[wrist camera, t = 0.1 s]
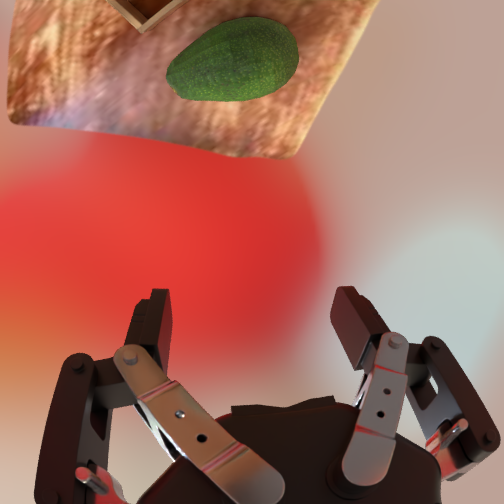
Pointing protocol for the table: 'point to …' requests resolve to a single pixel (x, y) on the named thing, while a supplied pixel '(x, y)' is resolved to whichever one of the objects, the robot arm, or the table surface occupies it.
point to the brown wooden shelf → (139, 20)
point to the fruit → (235, 61)
